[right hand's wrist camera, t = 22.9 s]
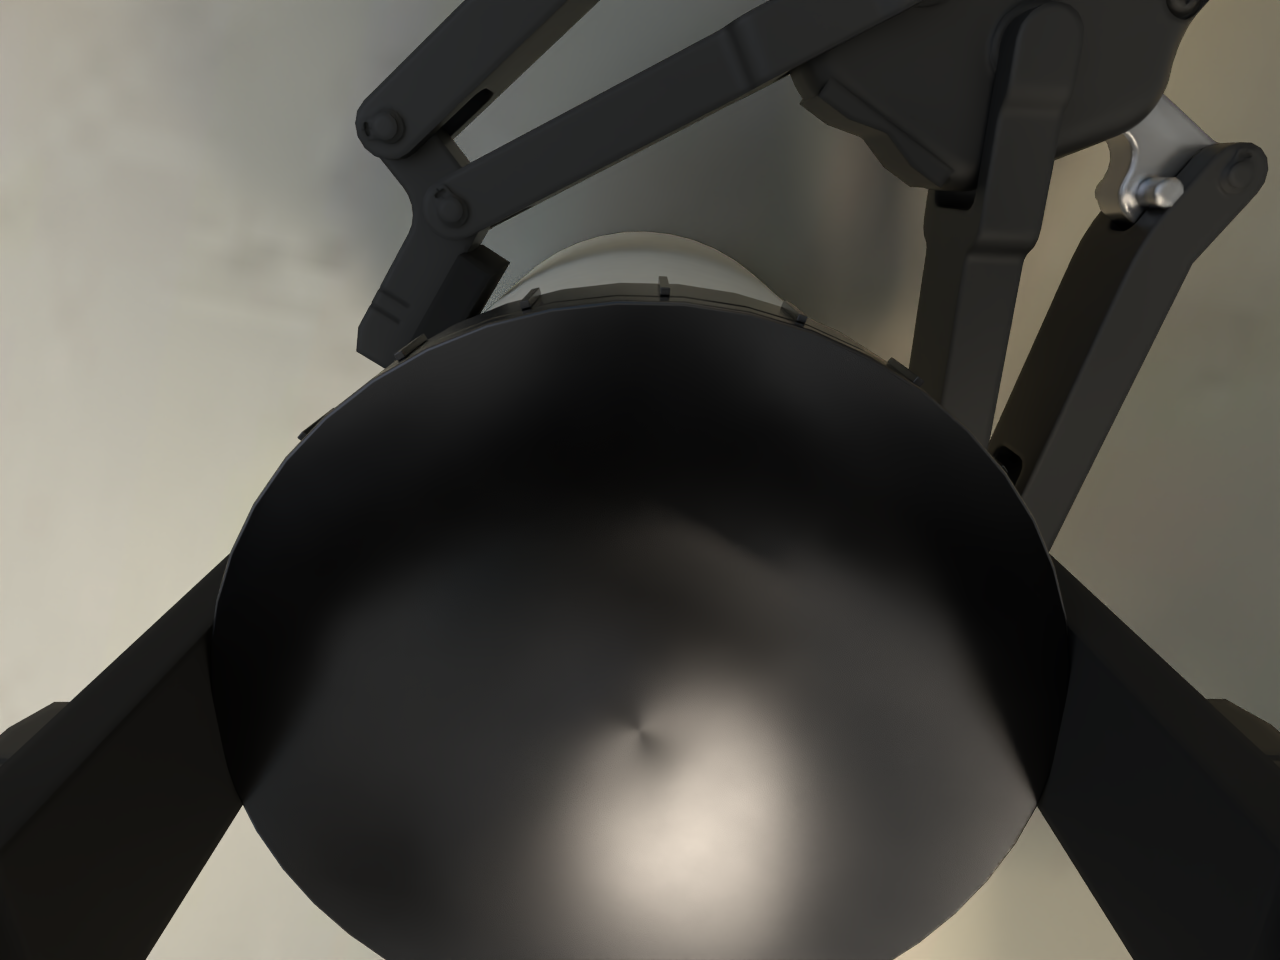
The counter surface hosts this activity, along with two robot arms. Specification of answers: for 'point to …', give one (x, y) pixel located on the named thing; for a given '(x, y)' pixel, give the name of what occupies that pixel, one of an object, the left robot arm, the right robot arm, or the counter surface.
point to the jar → (640, 267)
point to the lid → (639, 642)
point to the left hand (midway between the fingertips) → (549, 603)
